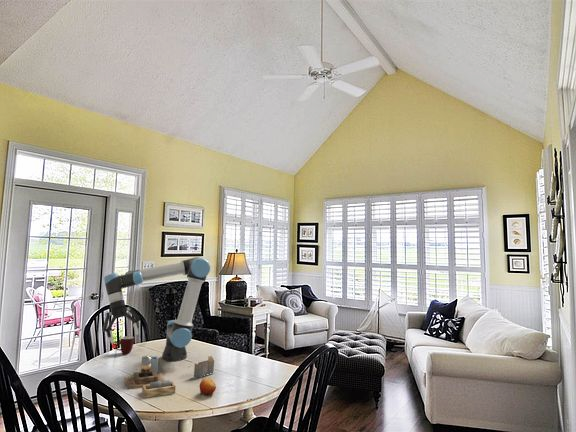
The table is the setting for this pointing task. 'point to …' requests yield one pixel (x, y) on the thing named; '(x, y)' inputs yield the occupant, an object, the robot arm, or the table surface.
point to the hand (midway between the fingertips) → (125, 338)
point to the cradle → (142, 379)
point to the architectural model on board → (204, 367)
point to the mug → (126, 344)
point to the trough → (158, 388)
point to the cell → (146, 366)
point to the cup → (154, 363)
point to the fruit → (207, 386)
